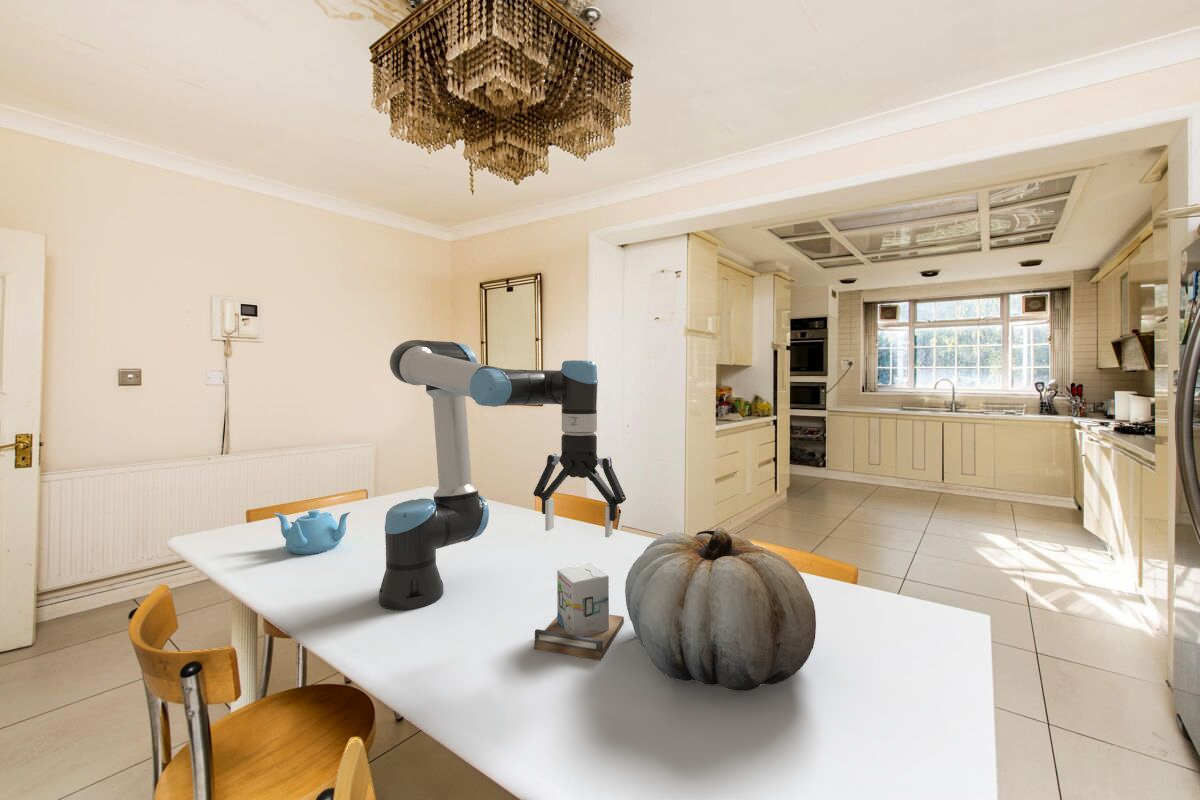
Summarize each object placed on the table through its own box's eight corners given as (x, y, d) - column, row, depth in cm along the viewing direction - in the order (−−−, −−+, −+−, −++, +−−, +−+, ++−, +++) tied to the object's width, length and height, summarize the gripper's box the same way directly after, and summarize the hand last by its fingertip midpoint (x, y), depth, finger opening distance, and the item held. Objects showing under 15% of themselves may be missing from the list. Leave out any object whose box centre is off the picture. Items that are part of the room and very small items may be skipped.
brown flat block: (534, 648, 101) (534, 631, 101) (565, 614, 116) (565, 599, 116) (600, 660, 96) (600, 642, 96) (623, 623, 112) (623, 607, 111)
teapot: (292, 561, 152) (291, 521, 151) (274, 548, 164) (273, 510, 164) (351, 548, 164) (351, 510, 164) (331, 536, 177) (330, 501, 177)
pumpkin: (586, 636, 106) (586, 517, 105) (716, 600, 124) (717, 498, 123) (705, 745, 74) (706, 575, 73) (858, 675, 91) (859, 538, 91)
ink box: (556, 622, 109) (556, 568, 109) (591, 613, 113) (591, 562, 113) (572, 639, 101) (572, 582, 101) (610, 630, 105) (609, 574, 105)
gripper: (518, 432, 108) (518, 531, 109) (631, 437, 100) (630, 544, 100) (534, 429, 115) (533, 522, 116) (640, 434, 107) (639, 533, 108)
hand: (578, 532), depth 108 cm, fingers open, 13 cm apart
